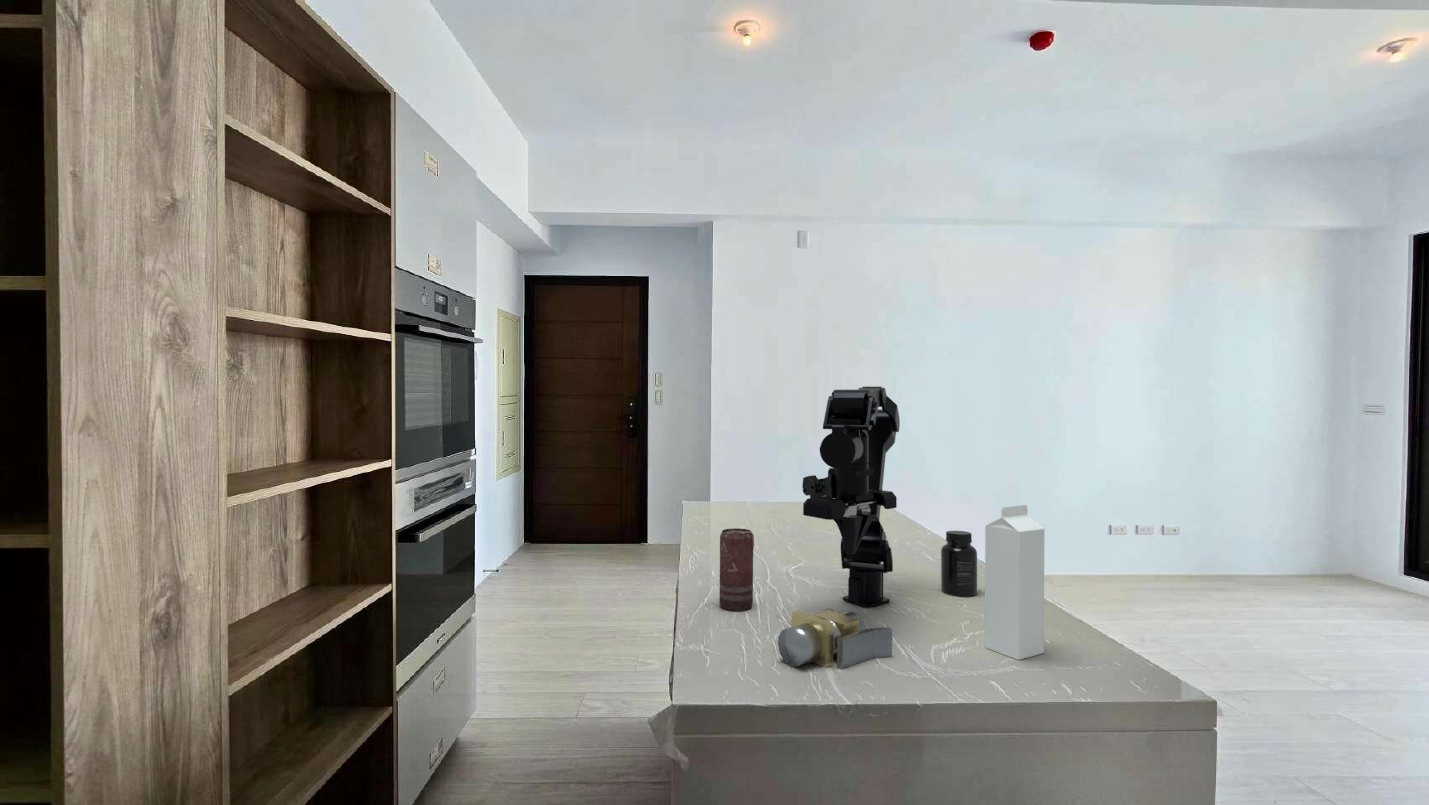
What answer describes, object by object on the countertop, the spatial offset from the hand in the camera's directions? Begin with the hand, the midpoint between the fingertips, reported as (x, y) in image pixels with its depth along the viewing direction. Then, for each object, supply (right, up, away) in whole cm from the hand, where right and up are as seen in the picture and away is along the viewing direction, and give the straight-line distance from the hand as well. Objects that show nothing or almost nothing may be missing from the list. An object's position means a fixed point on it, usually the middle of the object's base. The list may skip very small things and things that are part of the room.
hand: (851, 553), depth 113 cm
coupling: (-7, -12, -15) cm, 20 cm away
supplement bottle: (+26, -12, +19) cm, 34 cm away
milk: (+22, -12, -12) cm, 28 cm away
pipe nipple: (-5, -12, -14) cm, 19 cm away
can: (-19, -12, +8) cm, 24 cm away
